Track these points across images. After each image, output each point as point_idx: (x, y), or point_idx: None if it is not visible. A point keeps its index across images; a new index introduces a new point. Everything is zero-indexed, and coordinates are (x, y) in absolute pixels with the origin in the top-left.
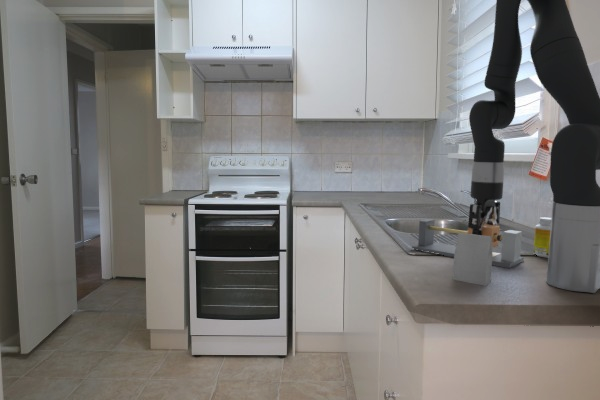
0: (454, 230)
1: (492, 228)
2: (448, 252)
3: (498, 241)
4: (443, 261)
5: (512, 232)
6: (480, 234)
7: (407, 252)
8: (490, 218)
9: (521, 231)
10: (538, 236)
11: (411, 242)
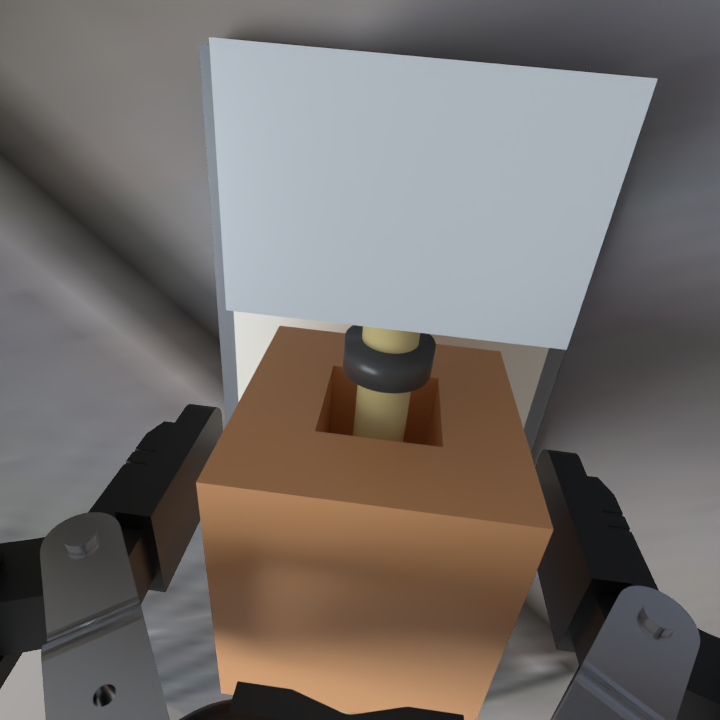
0: None
1: (529, 522)
2: None
3: (274, 349)
4: (657, 526)
5: (521, 191)
6: (615, 547)
7: (528, 680)
8: (258, 702)
9: (212, 53)
10: None
11: None
